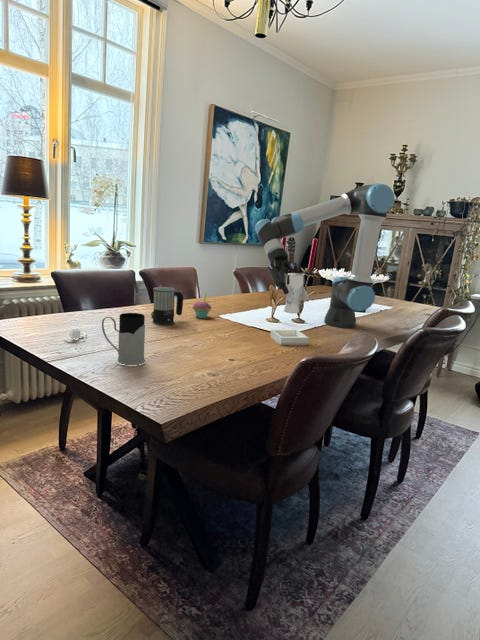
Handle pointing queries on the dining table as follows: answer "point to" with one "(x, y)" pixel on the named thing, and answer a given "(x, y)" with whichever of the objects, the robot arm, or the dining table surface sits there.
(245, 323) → the dining table surface
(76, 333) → the teacup and saucer
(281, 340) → the cup holder
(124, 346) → the glass holder
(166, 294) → the milk frother
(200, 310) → the cupcake
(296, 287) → the beer glass
